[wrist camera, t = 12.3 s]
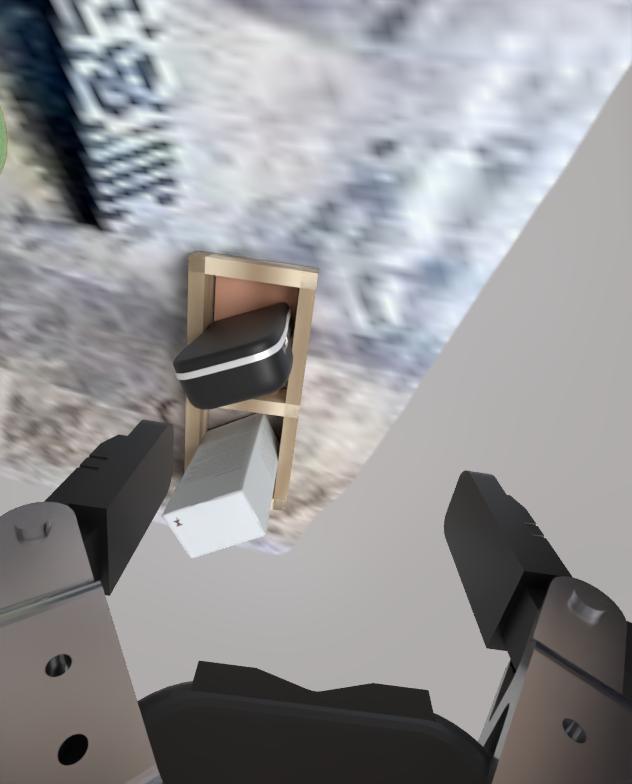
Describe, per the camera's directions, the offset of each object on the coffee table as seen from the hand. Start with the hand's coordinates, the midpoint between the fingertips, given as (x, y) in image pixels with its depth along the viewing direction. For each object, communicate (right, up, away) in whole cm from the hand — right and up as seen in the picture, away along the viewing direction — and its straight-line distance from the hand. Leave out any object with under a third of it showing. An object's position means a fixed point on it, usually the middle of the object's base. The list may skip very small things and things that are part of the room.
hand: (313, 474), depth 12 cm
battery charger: (-5, +7, +24) cm, 25 cm away
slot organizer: (-6, +3, +26) cm, 26 cm away
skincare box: (-7, -2, +28) cm, 29 cm away
